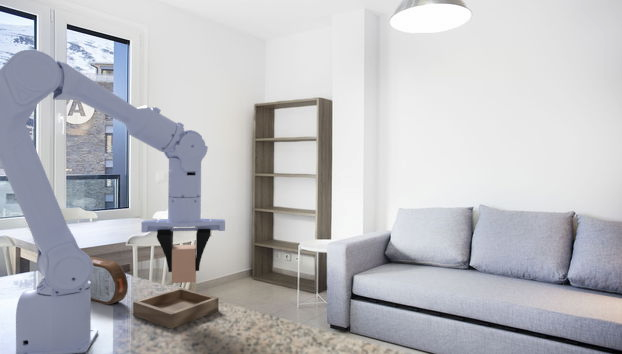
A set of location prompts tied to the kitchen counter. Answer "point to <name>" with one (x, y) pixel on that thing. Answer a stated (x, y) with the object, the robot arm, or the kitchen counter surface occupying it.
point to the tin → (107, 281)
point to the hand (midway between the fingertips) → (184, 270)
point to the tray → (175, 307)
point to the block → (183, 263)
